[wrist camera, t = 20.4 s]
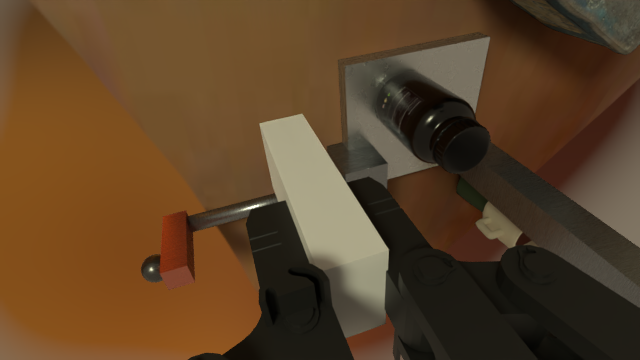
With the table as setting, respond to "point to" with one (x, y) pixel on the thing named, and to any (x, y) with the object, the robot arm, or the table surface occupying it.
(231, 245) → the table surface
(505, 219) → the character mug
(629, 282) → the press
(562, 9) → the metal box
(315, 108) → the table surface
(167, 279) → the lever
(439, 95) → the supplement bottle
